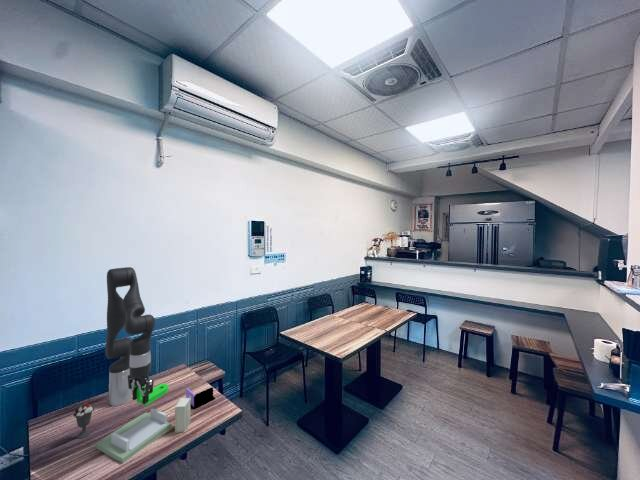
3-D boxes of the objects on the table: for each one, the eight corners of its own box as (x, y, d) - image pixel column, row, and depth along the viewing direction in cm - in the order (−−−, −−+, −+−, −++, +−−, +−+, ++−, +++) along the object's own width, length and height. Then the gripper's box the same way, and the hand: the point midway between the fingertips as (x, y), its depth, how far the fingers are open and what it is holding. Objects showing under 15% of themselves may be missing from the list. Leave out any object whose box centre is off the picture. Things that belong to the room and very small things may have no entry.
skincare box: (181, 423, 119) (181, 397, 119) (190, 422, 120) (190, 397, 119) (174, 433, 113) (174, 406, 113) (184, 433, 113) (184, 406, 113)
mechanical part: (146, 405, 110) (146, 387, 110) (136, 402, 112) (136, 384, 112) (171, 390, 121) (171, 373, 121) (162, 387, 123) (162, 370, 123)
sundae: (98, 430, 114) (97, 397, 114) (79, 442, 108) (79, 407, 108) (88, 427, 116) (88, 394, 116) (70, 438, 110) (69, 403, 110)
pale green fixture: (95, 447, 105) (95, 433, 105) (145, 416, 124) (145, 404, 123) (122, 463, 98) (122, 448, 98) (171, 427, 116) (171, 414, 116)
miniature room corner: (193, 411, 128) (193, 397, 128) (183, 400, 136) (183, 388, 136) (216, 399, 137) (216, 387, 137) (205, 390, 145) (205, 378, 145)
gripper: (120, 363, 110) (120, 401, 110) (142, 370, 104) (142, 411, 104) (138, 355, 117) (138, 392, 117) (160, 361, 111) (160, 400, 111)
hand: (140, 400), depth 111 cm, fingers closed on mechanical part, 6 cm apart
